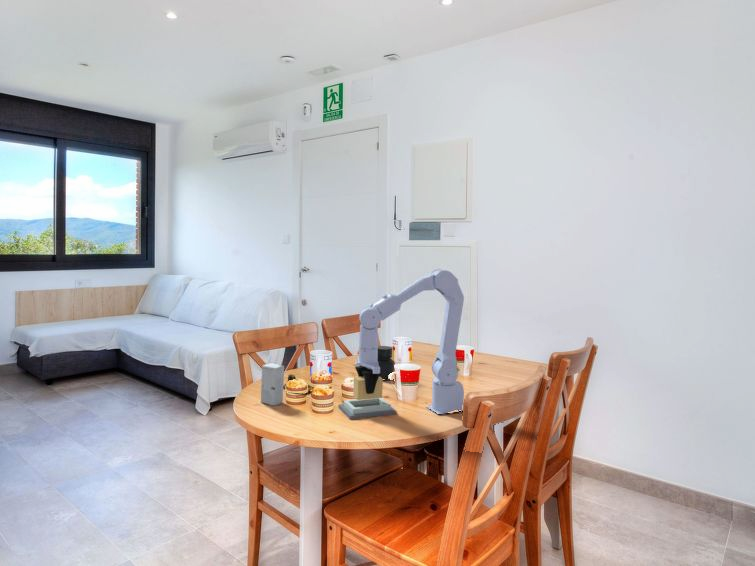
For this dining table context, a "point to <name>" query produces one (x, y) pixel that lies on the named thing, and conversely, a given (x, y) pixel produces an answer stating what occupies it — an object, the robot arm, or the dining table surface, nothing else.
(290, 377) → the seal
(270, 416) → the dining table surface
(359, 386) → the ochre block
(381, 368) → the ink bottle
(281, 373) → the skincare box
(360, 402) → the board
